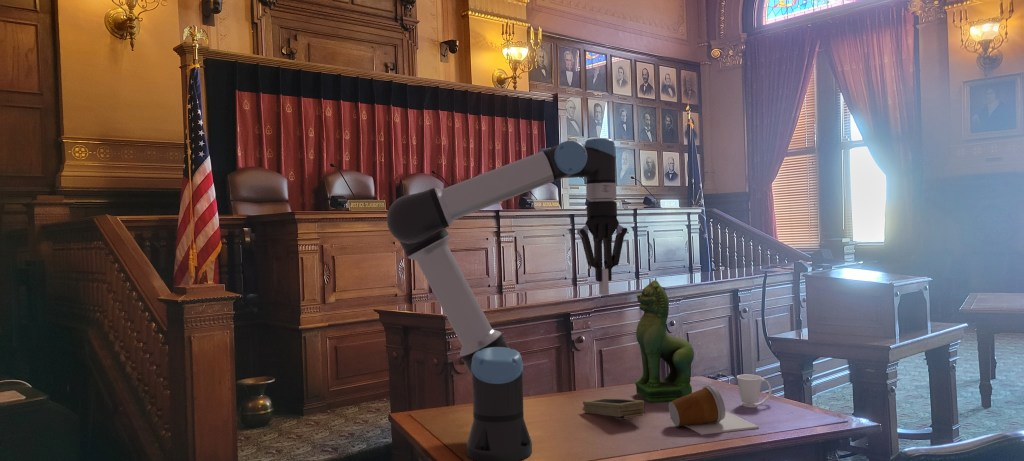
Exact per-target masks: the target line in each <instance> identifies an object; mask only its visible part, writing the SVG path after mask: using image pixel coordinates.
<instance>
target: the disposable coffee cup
mask: <svg viewBox="0 0 1024 461" xmlns="http://www.w3.org/2000/svg"><path fill="white" fill-rule="evenodd" d="M668 411H669V416H670V419H671V422H672V423H673V424H674V425H675V427H682V426H683V427H686V426H685V425H693V424H701V423H708V422H716V423H719V422H720V421H721V420H723V419H724V418H725V411H726V406H725V403H724V400H723V396H722V395H721V392H720V391H719V389H718V388H717V387H715V386H713V385H712V386H710V385H705V386H704V387H702V388H700V389H699V390H695V391H694V392H693V391H692V393H691V394H688V395H686V396H683V397H681V398H678V399H676V400H673V401H670V402H669V403H668Z"/></svg>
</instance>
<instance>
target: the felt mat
mask: <svg viewBox="0 0 1024 461" xmlns="http://www.w3.org/2000/svg"><path fill="white" fill-rule="evenodd" d="M684 427H686V428H688V429H690V430H692V431H694V432H695V433H697V434H699V435H700V436H702V435H703V436H704V435H710V434H721V433H728V432H730V433H731V432H737V431H746V430H747V431H748V430H754V429H755V430H756V429H759V425H757V424H754V423H752V422H750V421H748V420H746V419H743V418H741V417H739V416H737V415H735V414H733V413H730V412H729V411H726V410H725V418H724V419H723V420H721V421H720V422H719V423H716V422H708V423H701V424H693V425H685V426H684Z"/></svg>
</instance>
